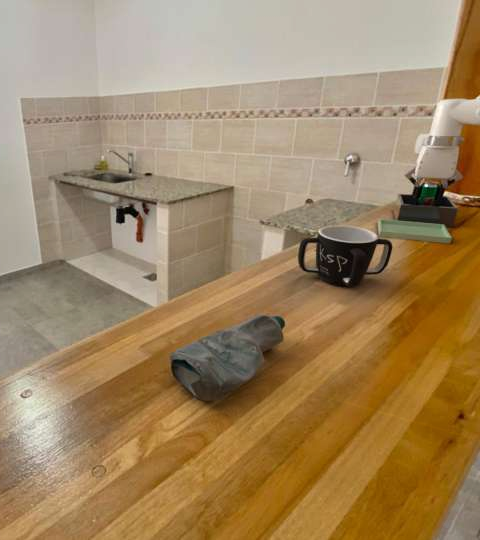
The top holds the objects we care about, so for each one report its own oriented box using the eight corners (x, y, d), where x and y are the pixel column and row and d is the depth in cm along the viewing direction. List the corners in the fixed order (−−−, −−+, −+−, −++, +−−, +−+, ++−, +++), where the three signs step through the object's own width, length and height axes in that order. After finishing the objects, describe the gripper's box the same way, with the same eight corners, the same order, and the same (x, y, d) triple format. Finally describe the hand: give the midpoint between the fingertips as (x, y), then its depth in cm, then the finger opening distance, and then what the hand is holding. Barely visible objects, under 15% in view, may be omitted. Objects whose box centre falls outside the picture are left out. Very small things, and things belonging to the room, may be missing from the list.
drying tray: (442, 229, 120) (444, 224, 119) (450, 243, 109) (451, 237, 109) (377, 224, 128) (379, 219, 127) (379, 236, 117) (380, 231, 117)
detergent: (210, 420, 55) (314, 354, 67) (208, 379, 53) (316, 318, 64) (155, 377, 66) (253, 326, 77) (152, 342, 63) (253, 294, 75)
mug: (287, 275, 97) (293, 230, 92) (329, 261, 103) (337, 218, 98) (348, 302, 83) (359, 251, 78) (392, 283, 90) (405, 235, 85)
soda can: (415, 219, 128) (425, 184, 123) (409, 215, 133) (418, 180, 128) (433, 220, 127) (443, 184, 122) (425, 215, 132) (435, 180, 127)
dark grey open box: (443, 214, 133) (449, 196, 130) (451, 228, 121) (458, 208, 118) (393, 211, 140) (397, 193, 137) (396, 223, 128) (401, 204, 125)
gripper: (475, 140, 119) (457, 197, 126) (407, 140, 127) (394, 194, 134) (480, 143, 113) (461, 203, 120) (410, 143, 121) (396, 199, 128)
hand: (426, 197), depth 127 cm, fingers open, 5 cm apart
